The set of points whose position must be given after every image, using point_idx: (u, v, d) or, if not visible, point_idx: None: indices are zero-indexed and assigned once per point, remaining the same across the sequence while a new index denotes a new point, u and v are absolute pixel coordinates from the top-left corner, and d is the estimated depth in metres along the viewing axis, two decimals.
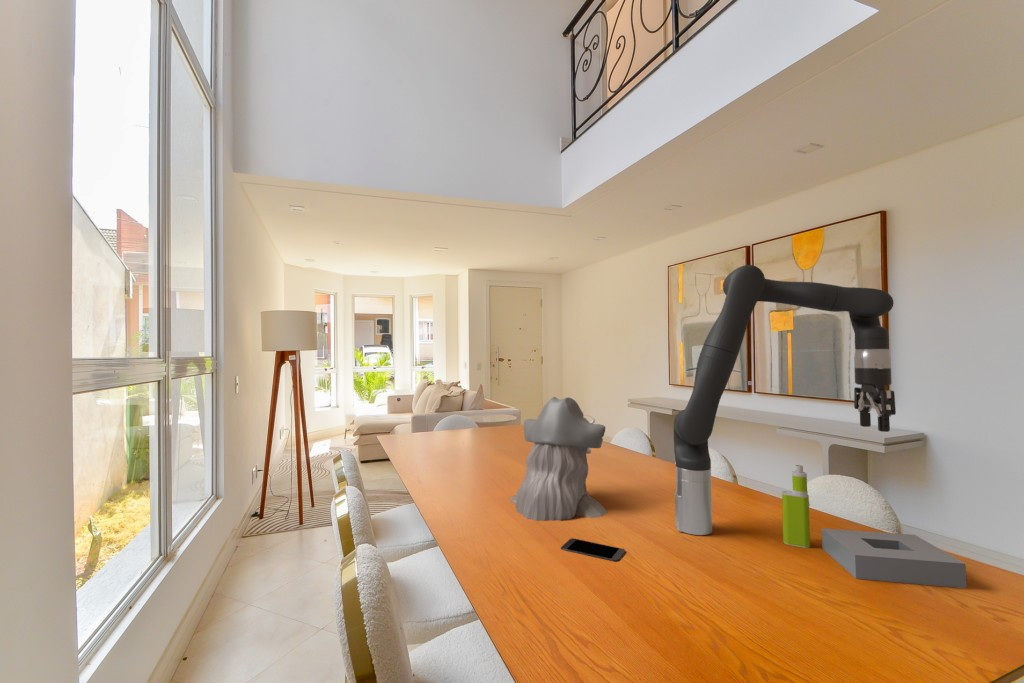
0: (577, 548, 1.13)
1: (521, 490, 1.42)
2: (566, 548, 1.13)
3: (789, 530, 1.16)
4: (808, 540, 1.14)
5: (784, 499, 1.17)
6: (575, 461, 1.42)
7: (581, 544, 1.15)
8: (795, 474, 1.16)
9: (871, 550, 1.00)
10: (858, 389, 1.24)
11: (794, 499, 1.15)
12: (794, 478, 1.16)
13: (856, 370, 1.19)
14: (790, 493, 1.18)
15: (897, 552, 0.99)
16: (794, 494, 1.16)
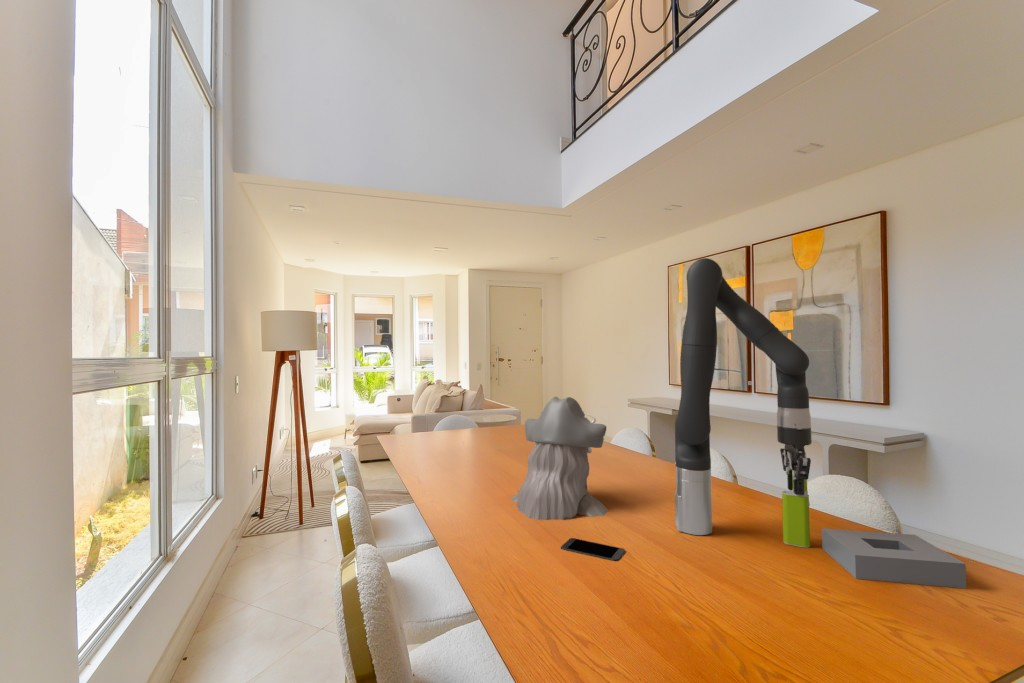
0: (577, 548, 1.13)
1: (523, 489, 1.43)
2: (566, 548, 1.13)
3: (789, 530, 1.16)
4: (808, 540, 1.14)
5: (784, 499, 1.17)
6: (576, 460, 1.42)
7: (580, 544, 1.15)
8: None
9: (871, 550, 1.00)
10: (783, 450, 1.23)
11: (794, 499, 1.16)
12: None
13: (778, 428, 1.18)
14: (790, 493, 1.18)
15: (897, 552, 0.99)
16: (794, 494, 1.16)
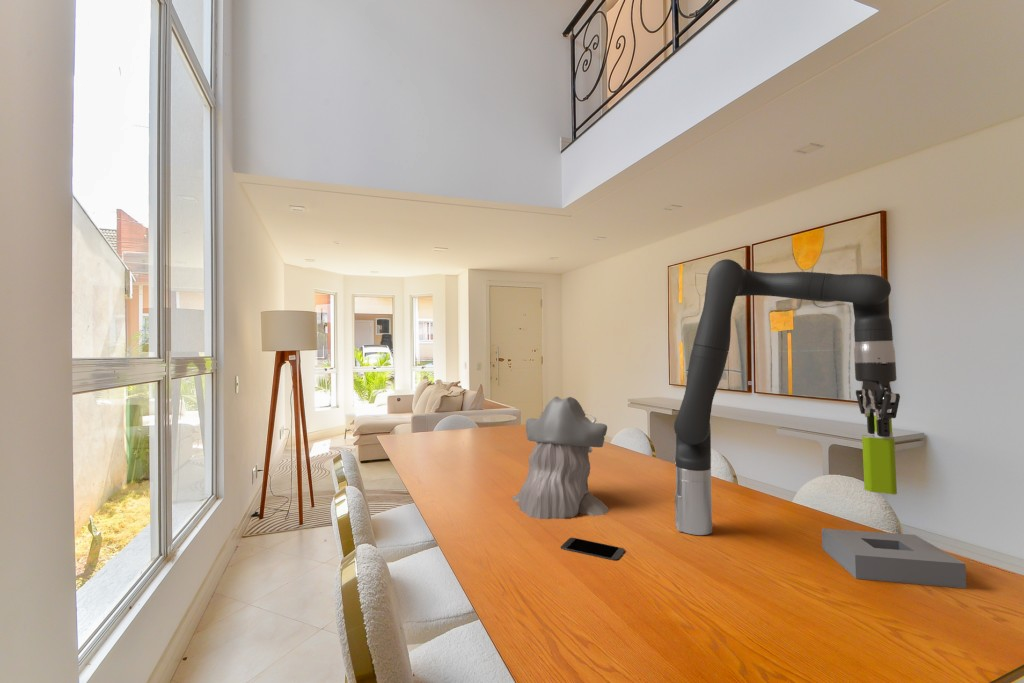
0: (577, 547, 1.13)
1: (524, 489, 1.44)
2: (566, 547, 1.14)
3: (873, 476, 1.04)
4: (895, 486, 1.03)
5: (866, 442, 1.06)
6: (577, 460, 1.43)
7: (580, 544, 1.16)
8: None
9: (871, 550, 1.00)
10: (860, 391, 1.11)
11: (877, 441, 1.04)
12: None
13: (856, 365, 1.07)
14: (871, 436, 1.07)
15: (897, 552, 0.99)
16: (877, 436, 1.05)
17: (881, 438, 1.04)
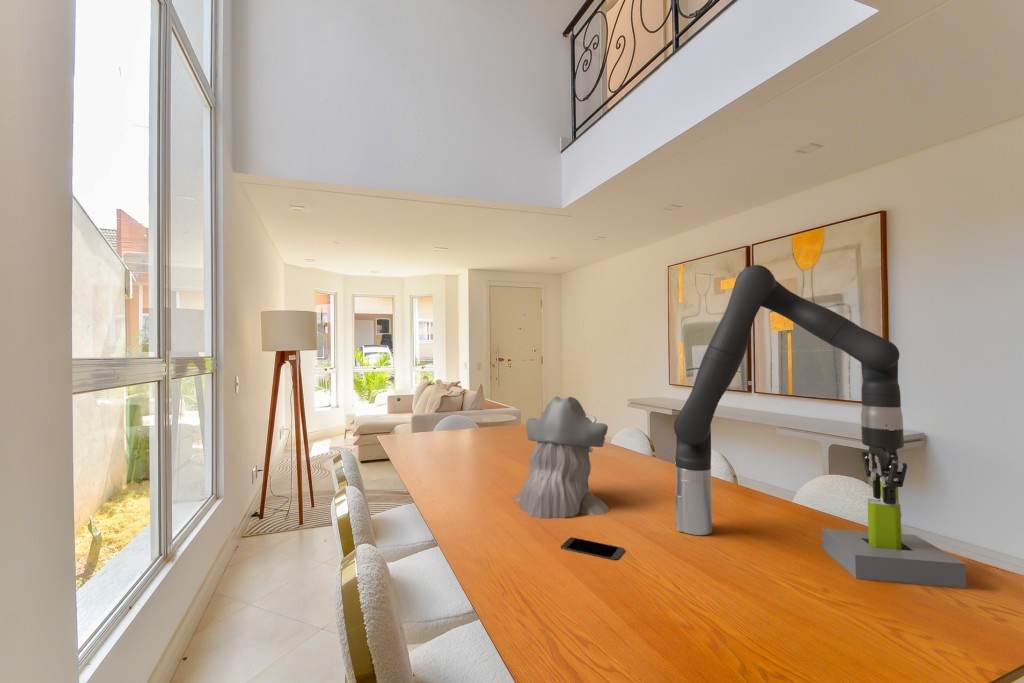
0: (577, 547, 1.14)
1: (525, 488, 1.44)
2: (566, 547, 1.14)
3: (878, 543, 1.03)
4: None
5: (871, 508, 1.04)
6: (578, 460, 1.44)
7: (580, 543, 1.16)
8: None
9: (871, 550, 1.00)
10: (866, 453, 1.10)
11: (883, 508, 1.03)
12: None
13: (863, 429, 1.05)
14: (877, 501, 1.05)
15: (897, 552, 0.99)
16: (883, 503, 1.04)
17: (887, 505, 1.03)
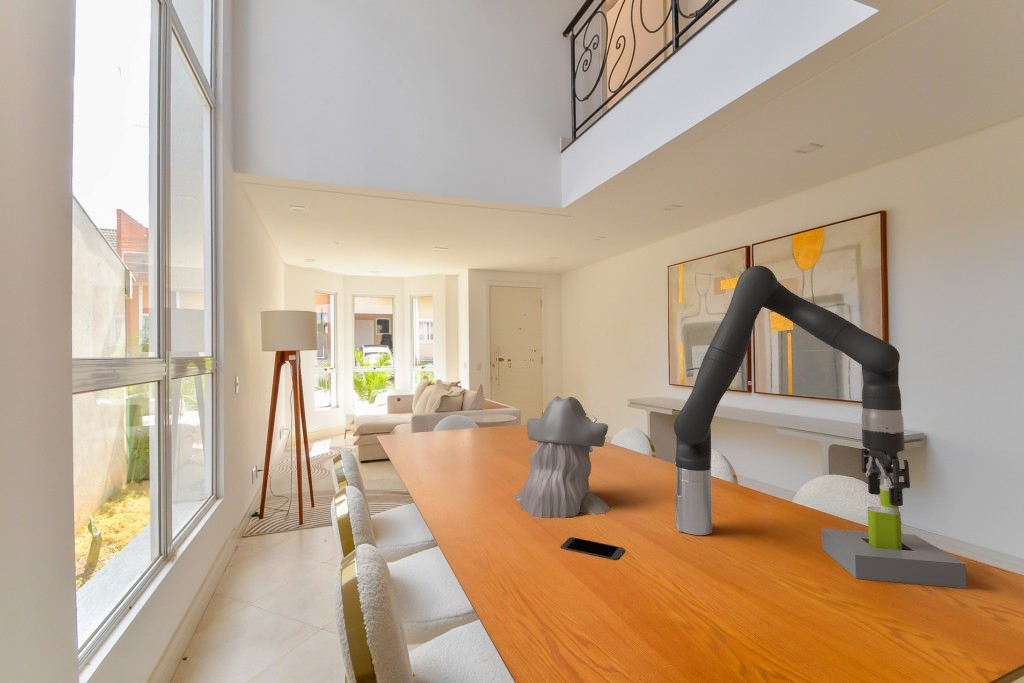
0: (577, 547, 1.14)
1: (525, 488, 1.45)
2: (566, 547, 1.14)
3: None
4: None
5: (871, 516, 1.04)
6: (579, 459, 1.44)
7: (580, 543, 1.16)
8: (884, 488, 1.03)
9: (871, 550, 1.00)
10: (866, 451, 1.10)
11: (883, 516, 1.03)
12: (883, 492, 1.03)
13: (864, 432, 1.05)
14: (877, 509, 1.05)
15: (897, 552, 0.99)
16: (883, 510, 1.03)
17: (887, 513, 1.02)
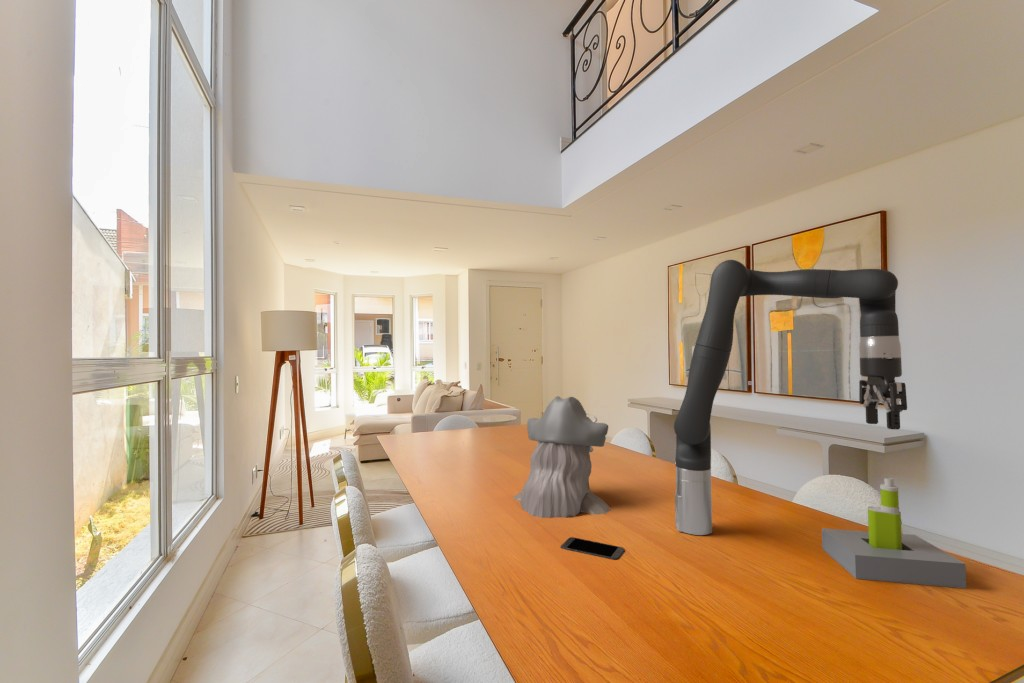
0: (577, 547, 1.14)
1: (526, 488, 1.45)
2: (566, 547, 1.14)
3: None
4: None
5: (871, 516, 1.04)
6: (579, 459, 1.44)
7: (580, 543, 1.16)
8: (885, 487, 1.03)
9: (871, 550, 1.00)
10: (864, 382, 1.11)
11: (883, 516, 1.03)
12: (883, 492, 1.04)
13: (862, 360, 1.06)
14: (877, 509, 1.05)
15: (897, 552, 0.99)
16: (883, 510, 1.03)
17: (887, 513, 1.03)
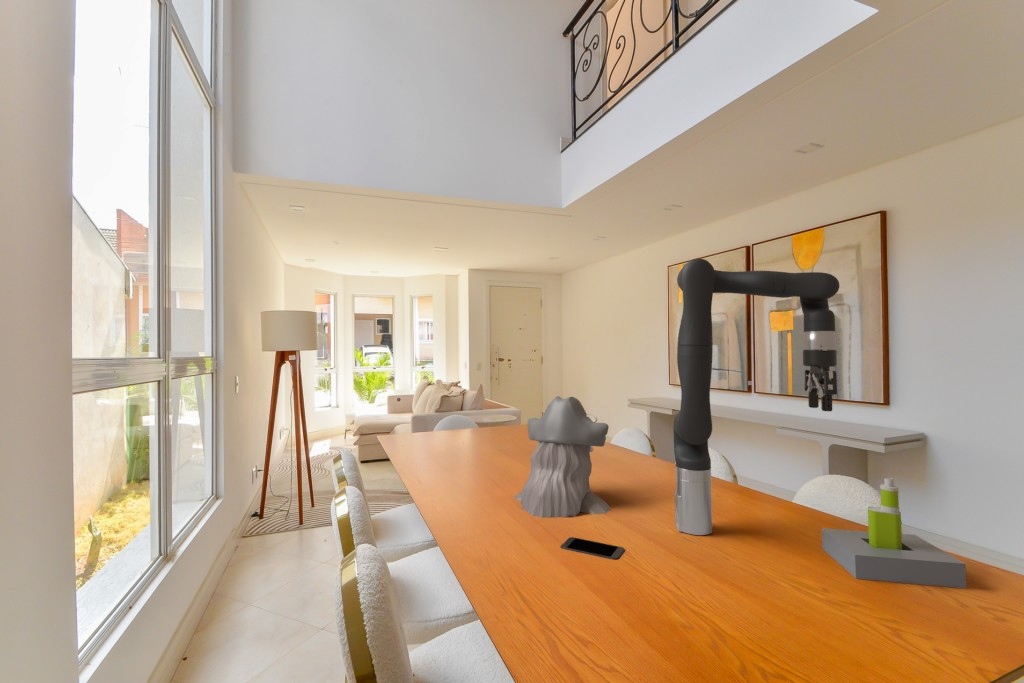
0: (577, 547, 1.14)
1: (526, 488, 1.45)
2: (566, 547, 1.14)
3: None
4: None
5: (871, 516, 1.04)
6: (579, 459, 1.44)
7: (580, 543, 1.16)
8: (885, 487, 1.03)
9: (871, 550, 1.00)
10: (808, 371, 1.27)
11: (883, 516, 1.03)
12: (883, 492, 1.04)
13: (803, 352, 1.22)
14: (877, 509, 1.05)
15: (897, 552, 0.99)
16: (883, 510, 1.03)
17: (887, 513, 1.02)
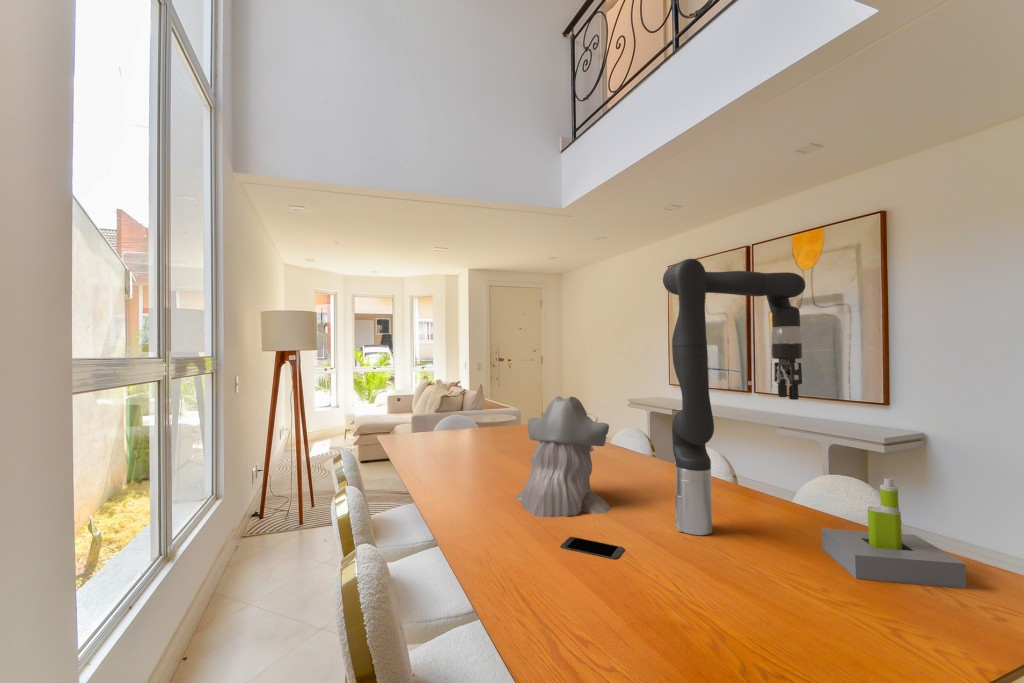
0: (576, 546, 1.14)
1: (527, 487, 1.45)
2: (566, 546, 1.14)
3: None
4: None
5: (871, 516, 1.04)
6: (580, 459, 1.45)
7: (580, 543, 1.16)
8: (884, 487, 1.03)
9: (871, 550, 1.00)
10: (777, 364, 1.38)
11: (883, 516, 1.03)
12: (883, 492, 1.03)
13: (772, 346, 1.33)
14: (877, 509, 1.05)
15: (897, 552, 0.99)
16: (883, 510, 1.03)
17: (887, 513, 1.02)
